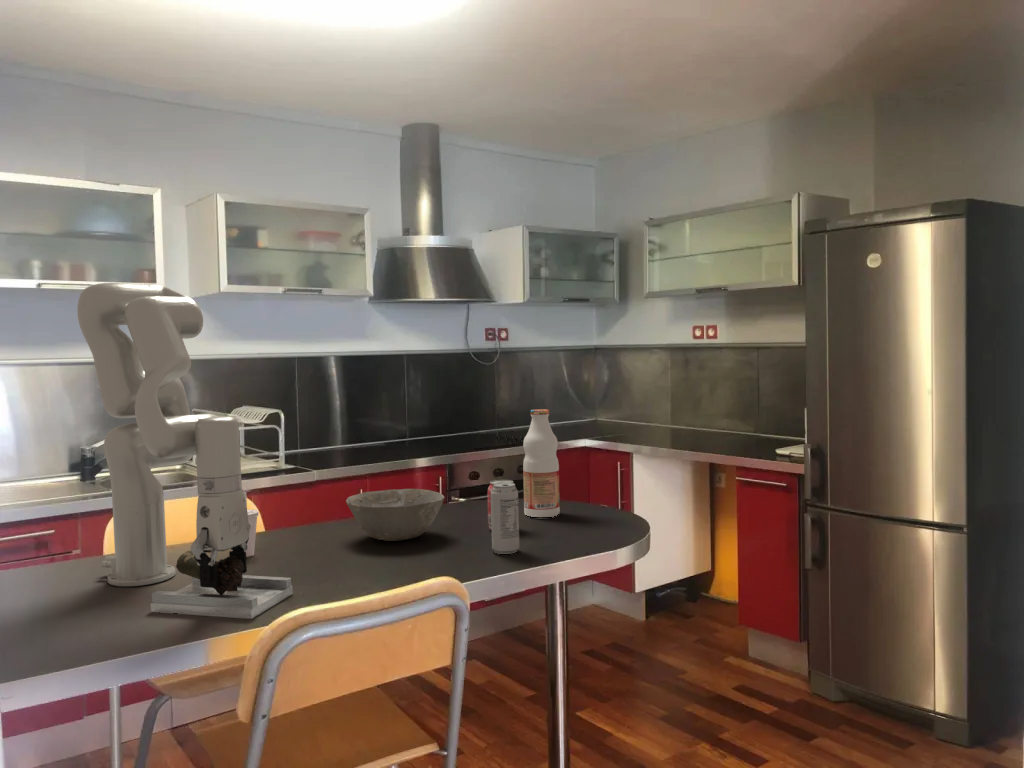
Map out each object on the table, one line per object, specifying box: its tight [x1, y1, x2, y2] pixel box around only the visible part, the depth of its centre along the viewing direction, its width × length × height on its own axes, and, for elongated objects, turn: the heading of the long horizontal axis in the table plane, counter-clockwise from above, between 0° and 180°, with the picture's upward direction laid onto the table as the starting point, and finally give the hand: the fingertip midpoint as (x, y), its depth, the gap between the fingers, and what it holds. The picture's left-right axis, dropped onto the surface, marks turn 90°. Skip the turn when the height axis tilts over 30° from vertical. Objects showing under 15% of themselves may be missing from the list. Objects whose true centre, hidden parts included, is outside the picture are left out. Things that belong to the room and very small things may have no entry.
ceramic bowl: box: [345, 488, 445, 542], centre depth 197 cm, size 22×23×10 cm
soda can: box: [487, 479, 514, 531], centre depth 203 cm, size 7×7×12 cm
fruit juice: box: [522, 408, 561, 518], centre depth 218 cm, size 9×9×28 cm
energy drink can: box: [491, 482, 520, 555], centre depth 182 cm, size 6×6×15 cm
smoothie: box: [243, 491, 260, 558], centre depth 184 cm, size 6×6×14 cm
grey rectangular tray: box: [150, 574, 294, 620], centre depth 151 cm, size 20×14×3 cm
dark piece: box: [175, 550, 244, 595], centre depth 153 cm, size 18×7×6 cm, turn 47°
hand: (224, 579), depth 151 cm, fingers closed on dark piece, 8 cm apart
